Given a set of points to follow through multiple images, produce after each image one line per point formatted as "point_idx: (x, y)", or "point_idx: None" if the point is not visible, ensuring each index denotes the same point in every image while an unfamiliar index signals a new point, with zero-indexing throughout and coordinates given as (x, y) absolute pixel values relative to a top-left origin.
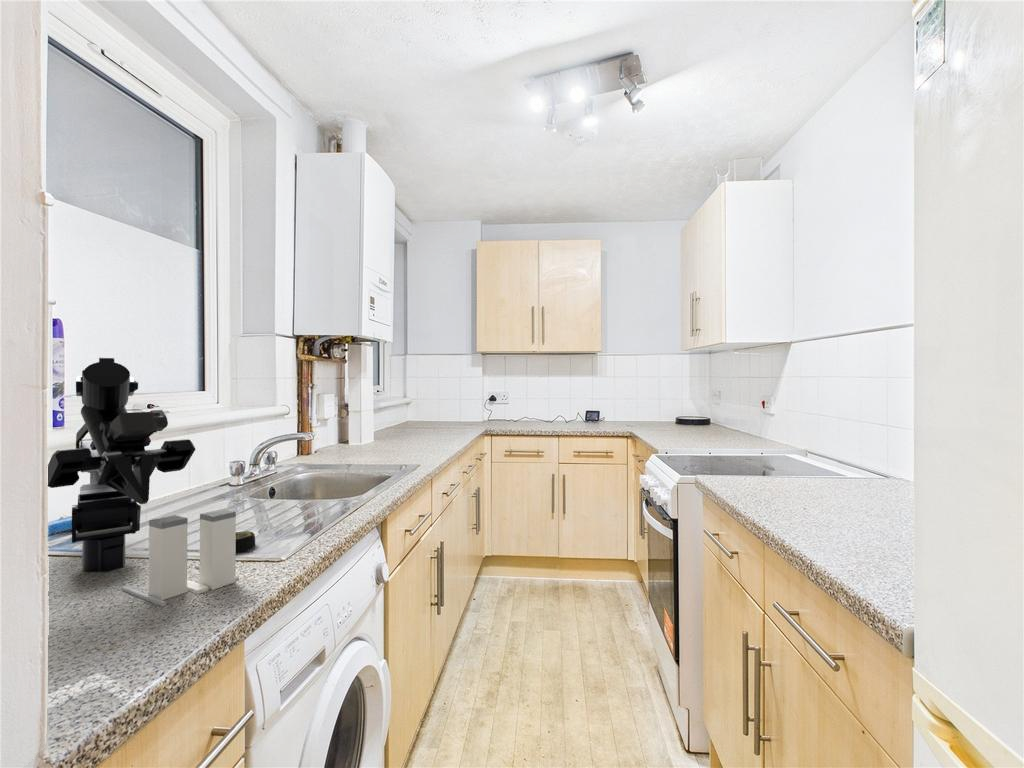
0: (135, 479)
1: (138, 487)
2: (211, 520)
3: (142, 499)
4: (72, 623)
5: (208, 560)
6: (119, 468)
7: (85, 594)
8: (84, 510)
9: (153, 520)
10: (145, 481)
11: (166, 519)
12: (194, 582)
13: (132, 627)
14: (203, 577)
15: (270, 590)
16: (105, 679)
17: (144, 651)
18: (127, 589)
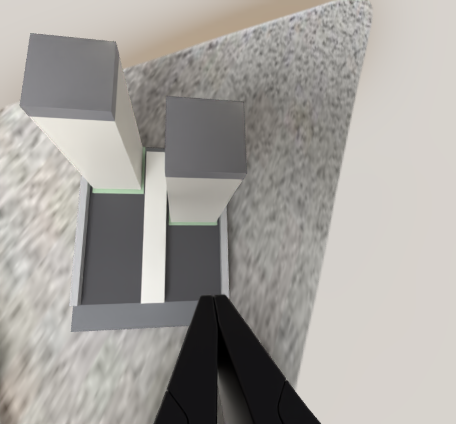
0: (256, 399)
1: (241, 344)
2: (117, 59)
3: (226, 296)
4: (309, 244)
5: (135, 136)
6: None
7: None
8: None
9: (239, 160)
10: (196, 379)
11: (211, 135)
12: (146, 195)
13: (266, 153)
14: (139, 170)
15: None
16: (328, 57)
17: (283, 76)
18: (228, 276)
